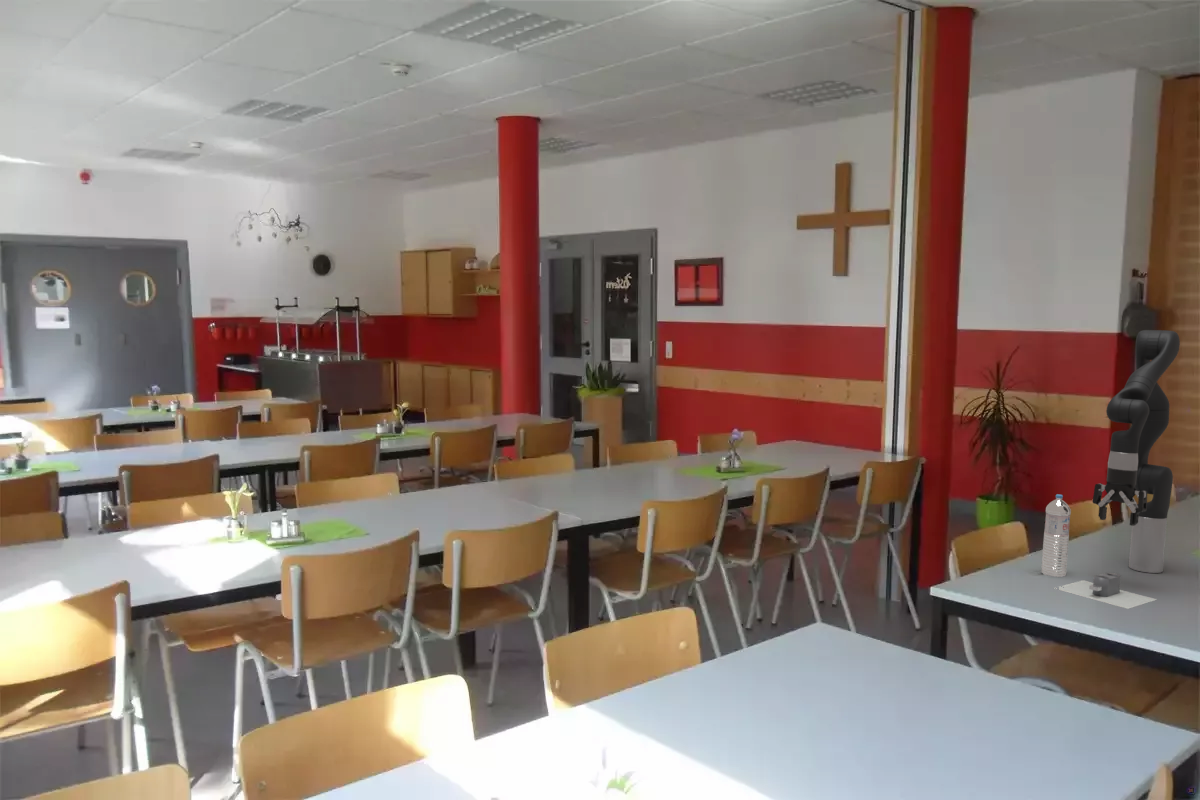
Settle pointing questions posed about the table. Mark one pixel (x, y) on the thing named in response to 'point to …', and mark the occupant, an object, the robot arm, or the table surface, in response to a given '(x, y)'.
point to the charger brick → (1106, 584)
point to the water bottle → (1056, 538)
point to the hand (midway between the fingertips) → (1117, 522)
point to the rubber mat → (1121, 599)
